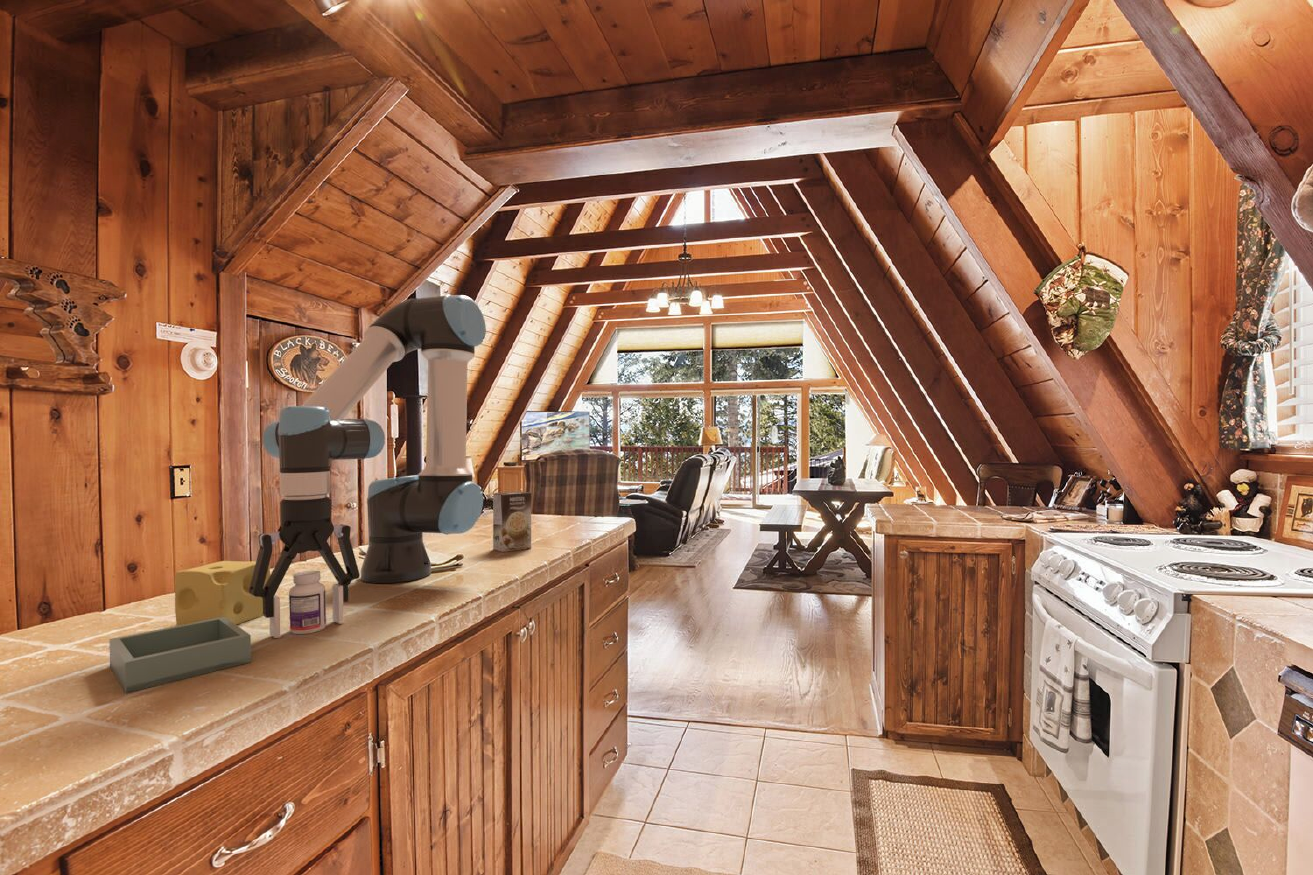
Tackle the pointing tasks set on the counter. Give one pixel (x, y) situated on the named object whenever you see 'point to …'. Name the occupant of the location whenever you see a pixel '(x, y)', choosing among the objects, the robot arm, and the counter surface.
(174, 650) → the tray
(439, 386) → the robot arm
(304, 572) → the pill bottle
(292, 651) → the counter surface
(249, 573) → the cheese
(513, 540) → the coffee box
